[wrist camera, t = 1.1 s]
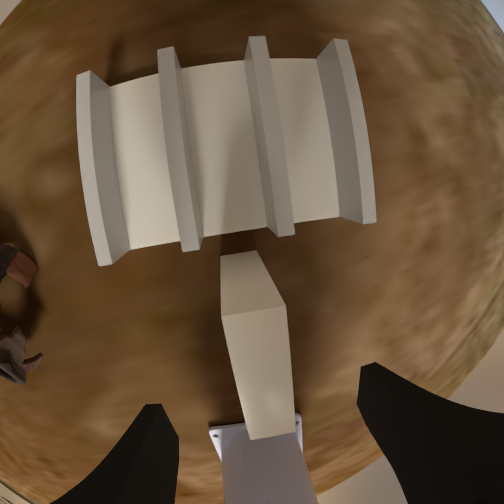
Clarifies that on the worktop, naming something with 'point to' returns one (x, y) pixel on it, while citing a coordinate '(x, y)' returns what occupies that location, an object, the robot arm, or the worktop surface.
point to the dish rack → (223, 149)
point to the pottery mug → (13, 345)
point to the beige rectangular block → (257, 344)
